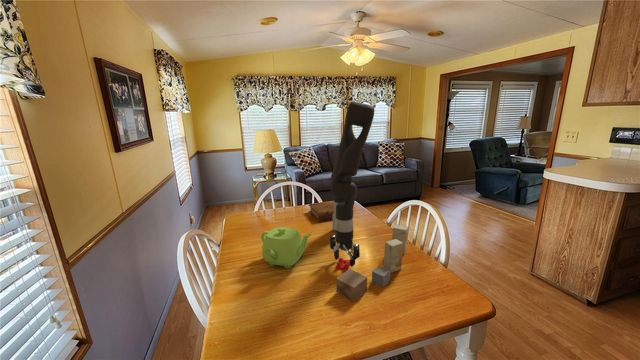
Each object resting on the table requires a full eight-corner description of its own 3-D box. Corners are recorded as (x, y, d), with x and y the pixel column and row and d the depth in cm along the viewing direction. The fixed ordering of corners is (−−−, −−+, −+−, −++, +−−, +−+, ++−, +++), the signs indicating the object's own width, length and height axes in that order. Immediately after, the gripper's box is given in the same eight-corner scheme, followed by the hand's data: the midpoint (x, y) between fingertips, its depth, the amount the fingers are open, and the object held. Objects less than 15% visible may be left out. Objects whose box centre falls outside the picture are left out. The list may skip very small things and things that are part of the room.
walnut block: (336, 292, 100) (336, 278, 98) (349, 282, 105) (349, 268, 104) (354, 302, 94) (354, 287, 93) (366, 291, 100) (367, 277, 98)
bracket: (348, 271, 113) (348, 264, 112) (336, 269, 114) (336, 262, 113) (351, 262, 119) (351, 256, 118) (340, 261, 120) (340, 255, 119)
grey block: (371, 282, 105) (372, 271, 103) (378, 276, 108) (379, 265, 107) (383, 288, 101) (383, 276, 100) (389, 281, 105) (390, 270, 103)
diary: (319, 223, 161) (318, 214, 160) (309, 212, 178) (308, 204, 177) (353, 216, 169) (353, 208, 167) (340, 207, 186) (340, 199, 184)
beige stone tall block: (391, 251, 126) (392, 227, 123) (393, 247, 130) (394, 224, 127) (404, 254, 123) (406, 230, 120) (406, 250, 127) (408, 226, 124)
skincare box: (390, 273, 110) (391, 246, 106) (383, 268, 113) (384, 242, 110) (402, 269, 112) (403, 242, 109) (394, 263, 116) (396, 238, 113)
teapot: (245, 273, 113) (242, 238, 109) (271, 248, 132) (269, 218, 128) (300, 284, 104) (298, 248, 100) (319, 256, 124) (318, 224, 120)
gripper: (325, 225, 114) (326, 259, 118) (352, 235, 105) (352, 272, 109) (336, 220, 119) (337, 253, 124) (363, 229, 110) (363, 264, 114)
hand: (344, 262), depth 116 cm, fingers open, 8 cm apart
